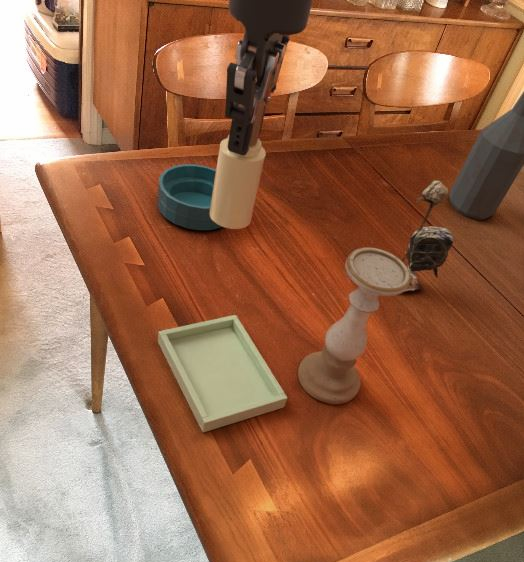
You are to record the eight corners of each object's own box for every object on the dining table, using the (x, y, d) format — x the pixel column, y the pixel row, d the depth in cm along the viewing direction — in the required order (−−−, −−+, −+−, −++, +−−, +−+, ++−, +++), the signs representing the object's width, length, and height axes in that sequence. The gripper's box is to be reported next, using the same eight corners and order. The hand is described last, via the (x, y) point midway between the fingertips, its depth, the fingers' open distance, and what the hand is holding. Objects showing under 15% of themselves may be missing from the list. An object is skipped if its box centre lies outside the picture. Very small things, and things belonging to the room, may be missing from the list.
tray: (157, 341, 76) (158, 331, 74) (233, 324, 81) (235, 314, 79) (202, 432, 67) (204, 423, 66) (284, 407, 72) (287, 397, 71)
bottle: (501, 218, 118) (589, 74, 96) (468, 223, 114) (552, 73, 92) (471, 191, 124) (548, 49, 102) (438, 194, 119) (510, 47, 98)
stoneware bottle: (203, 220, 67) (220, 100, 56) (217, 199, 70) (236, 83, 60) (243, 234, 66) (268, 117, 56) (256, 212, 70) (282, 99, 60)
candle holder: (327, 347, 81) (375, 235, 67) (370, 387, 78) (431, 278, 63) (284, 371, 77) (326, 256, 62) (329, 415, 73) (384, 304, 58)
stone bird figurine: (431, 306, 93) (490, 204, 79) (366, 284, 93) (413, 179, 79) (433, 277, 99) (489, 177, 84) (372, 257, 99) (418, 154, 85)
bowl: (144, 216, 94) (145, 190, 90) (175, 180, 103) (178, 156, 99) (216, 242, 93) (221, 217, 89) (242, 204, 102) (247, 180, 98)
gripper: (260, -63, 54) (232, 109, 66) (210, -36, 44) (188, 160, 57) (333, -40, 54) (291, 129, 66) (299, -7, 44) (257, 184, 56)
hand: (243, 142), depth 61 cm, fingers closed on stoneware bottle, 4 cm apart
